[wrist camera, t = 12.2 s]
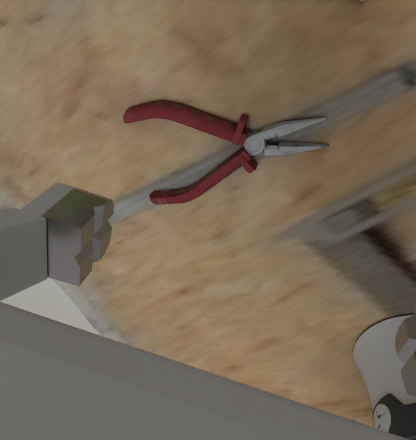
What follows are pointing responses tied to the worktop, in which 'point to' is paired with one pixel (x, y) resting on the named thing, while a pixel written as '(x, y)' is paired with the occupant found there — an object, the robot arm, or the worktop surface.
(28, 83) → the worktop surface
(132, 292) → the worktop surface
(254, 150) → the pliers
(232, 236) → the worktop surface
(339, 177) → the worktop surface
